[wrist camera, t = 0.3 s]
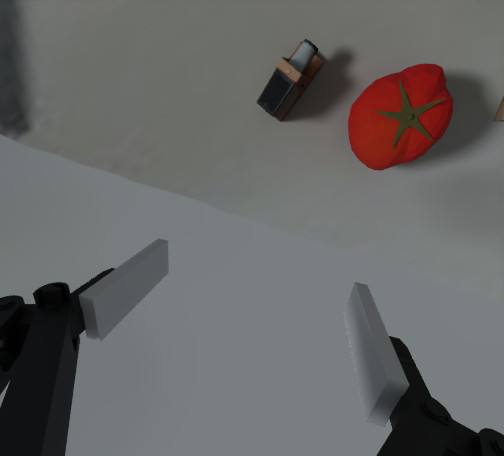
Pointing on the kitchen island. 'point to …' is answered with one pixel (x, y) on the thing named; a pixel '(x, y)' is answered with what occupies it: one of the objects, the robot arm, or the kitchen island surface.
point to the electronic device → (290, 80)
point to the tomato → (400, 116)
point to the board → (500, 112)
